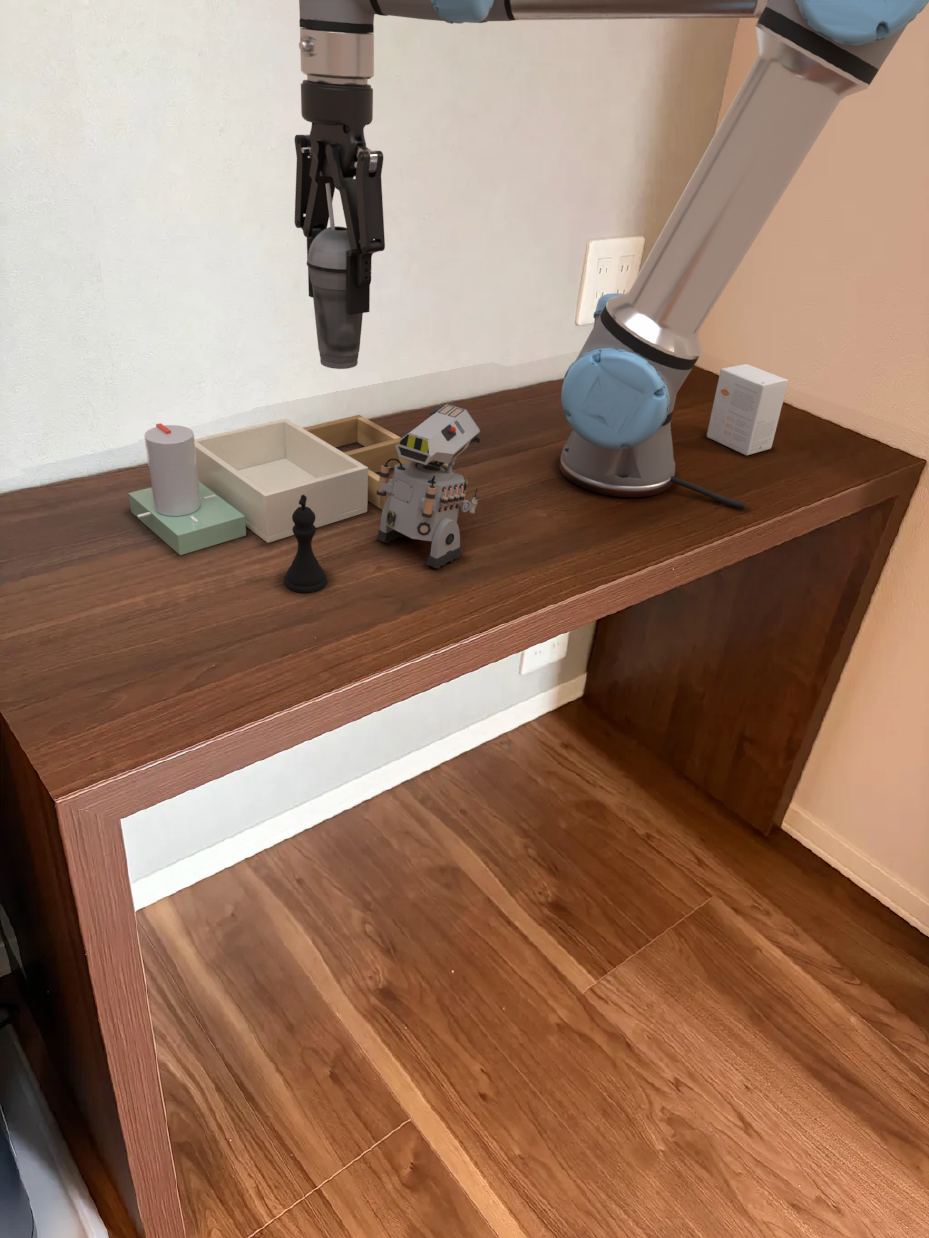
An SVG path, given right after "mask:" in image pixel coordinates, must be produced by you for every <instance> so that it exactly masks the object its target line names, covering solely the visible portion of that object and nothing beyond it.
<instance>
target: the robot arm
mask: <svg viewBox="0 0 929 1238" xmlns="http://www.w3.org/2000/svg"><path fill="white" fill-rule="evenodd" d="M928 4H929V0H298V6H299V19H298V20H299V21H298V22H299V23H298V25H299V43H298V48H299V50H300V51H299V52H300V71H301V73H302V74H304V75H306V79H303V80H302V82H301V83H300V110H301V111H300V112H301V113H300V114H301V117H302V119H303V120H304V121H306V122H309V123H311V127H310V131H309V134H295V136H294V147H295V155H296V165H295V167H296V169H295V196H294V197H295V198H294V226H295V228H297V229H301V230H302V233H303V236H304V237H305V238H306V254H307V255H306V261H307V260H308V253H309V248H310V246H311V243H312V241H313V240H314V238H315V237H316V236H317V235H318V234H319V233H320V232H321V231H322V230H324V229H326V228H328V225H329V221H330V219H329V210H328V201H327V192H326V183H330V189H331V198H332V202H333V201H334V197H335V196H334V195H335V192H336V191H335V190H337V191H339V197H340V200H341V206H342V211H343V216H344V222H345V226H346V227H345V228H347V232H348V237H349V242H350V247H351V250H348V251H346V313H347V314H349V315H353V314H359V313H363V314H364V313H365V314H366V313H370V305H371V304H370V302H371V301H370V299H371V298H370V296H371V295H370V292H371V291H370V290H371V283H372V257H373V255H374V254H376V253H378V252H383V251H385V248H386V239H385V223H384V222H385V221H384V203H383V186H382V174H383V173H382V172H383V165H384V153H383V152H382V151H381V150H372V149H370V148H369V147H367V142H366V138H365V133H364V132H365V130H364V129H365V127H366V126H368V125H370V124H371V123H372V122H373V120H374V88H372V84H368V81H369V80H371V79H372V78H374V76H375V52H374V51H375V35H374V33H375V25H374V22H375V15H377V16H383V17H389V16H392V17H398V18H399V17H400V18H406V19H407V18H409V19H416V20H425V21H426V20H427V21H437V22H438V21H439V22H445V23H447V24H452V25H453V24H459V25H460V24H464V23H468V24H484V23H488V22H512V21H585V20H586V21H588V20H590V21H591V20H592V21H594V20H595V21H596V20H671V19H672V20H676V19H677V20H679V19H682V20H683V19H684V20H685V19H755V20H757V22H756V24H755V33H756V39H757V46H758V54H757V56H756V58H755V60H754V62H753V64H752V66H751V68H750V69H749V71H748V73H747V75H746V77H745V78H744V80H743V82H742V84H741V85H740V88H739V89H738V91H737V93H736V95H735V96H734V99H733V100H732V102H731V104H730V106H729V108H728V109H727V111H726V113H725V115H724V117H723V118H722V121H721V122H720V124H719V126H718V128H717V130H716V132H715V133H714V135H713V137H712V139H711V141H710V143H709V145H708V146H707V148H706V150H705V152H704V153H703V155H702V157H701V159H700V160H699V162H698V164H697V166H696V168H695V170H694V172H693V173H692V176H691V178H690V179H689V181H688V183H687V184H686V186H685V188H684V190H683V192H682V194H681V195H680V197H679V199H678V200H677V202H676V205H675V206H674V208H673V210H672V212H671V214H670V216H669V217H668V219H667V220H666V223H665V225H664V226H663V228H662V230H661V232H660V234H659V236H658V237H657V239H656V241H655V243H654V245H653V247H652V249H651V250H650V251H649V254H648V256H647V258H646V260H644V262H643V265H642V266H641V269H639V272H638V274H637V276H636V278H635V279H634V281H633V283H632V285H631V287H630V289H629V291H627V292H626V293H619V292H615V293H612V292H611V293H606V294H603V295H601V296H600V297H599V298H598V300H597V303H596V306H595V307H596V308H595V311H594V312H593V315H592V317H593V320H594V322H593V327H592V329H591V331H590V333H589V335H588V337H587V339H586V341H584V344H583V346H582V348H581V350H580V351H579V353H578V355H577V357H576V359H575V360H574V361H573V362H572V363H570V365H568V368H567V369H566V371H565V374H564V376H563V380H562V387H561V395H560V396H561V397H560V398H561V399H560V400H561V407H562V411H563V413H564V416H565V418H566V421H567V423H568V425H569V426H570V427H571V428H572V429H571V432H570V434H569V436H568V438H567V440H566V442H565V444H564V446H563V448H562V451H561V454H560V460H559V470H560V472H561V474H562V475H563V477H564V478H566V480H568V481H569V482H571V483H572V484H574V485H576V486H578V487H580V488H581V489H585V490H587V491H591V492H593V493H597V494H601V495H605V496H611V497H619V498H644V497H651V496H652V497H653V496H656V495H659V494H662V493H665V492H666V491H668V489H670V488H671V487H672V484H675V485H678V486H680V487H684V488H686V489H689V490H690V491H691V490H692V491H694V492H695V493H699V494H701V495H704V496H706V497H708V498H709V499H713V500H715V501H717V502H719V503H723V504H726V505H729V506H732V507H735V508H739V509H744V510H745V508H746V504H747V503H746V502H744V501H740V500H736V499H733V498H730V497H726V496H723V495H721V494H720V493H716V492H714V491H711V490H710V489H707V488H704V487H702V486H700V485H697V484H695V483H692V482H689V481H687V480H685V479H681V478H679V477H676V476H675V475H676V462H675V457H674V447H673V446H674V445H673V437H672V428H671V425H672V424H671V423H672V417H673V415H674V410H675V409H674V408H675V404H676V399H677V395H678V393H679V391H680V389H681V387H682V386H683V384H684V382H685V381H686V379H687V378H688V376H689V374H690V373H691V371H692V370H693V368H694V367H695V365H696V363H697V362H698V360H699V358H700V357H701V355H702V354H703V349H702V344H701V341H700V340H701V339H700V336H699V333H700V330H701V329H702V327H703V325H704V323H705V322H706V320H707V319H708V317H709V315H710V314H711V312H712V311H713V309H714V307H715V306H716V304H717V302H718V301H719V299H720V298H721V296H722V294H723V293H724V291H725V290H726V289H727V286H728V285H729V283H730V281H731V279H732V278H733V277H734V274H735V273H736V271H737V270H738V269H739V267H740V265H741V263H742V262H743V260H744V258H745V257H746V255H747V254H748V252H749V250H750V249H751V247H752V245H753V243H754V242H755V241H756V238H757V237H758V236H759V234H760V232H761V231H762V229H763V227H764V225H765V224H766V222H767V221H768V219H769V218H770V216H771V214H772V213H773V211H774V209H775V208H776V206H777V205H778V203H779V201H780V199H781V198H782V196H783V195H784V193H785V191H786V190H787V188H788V186H789V185H790V183H791V182H792V180H793V178H794V177H795V175H796V174H797V172H798V170H799V168H800V167H801V166H802V164H803V162H804V160H805V159H806V157H807V155H809V152H810V151H811V149H812V148H813V146H814V144H815V142H816V141H817V140H818V138H819V136H820V135H821V133H822V131H823V129H824V128H825V126H826V124H827V123H828V122H829V119H830V118H831V116H832V115H833V113H834V112H835V110H836V109H837V107H838V105H839V104H840V102H841V101H842V100H843V99H845V98H847V97H848V96H851V95H854V94H857V93H859V92H863V91H866V90H868V88H869V86H870V85H871V84H872V82H873V81H874V79H875V77H876V76H877V75H878V73H879V71H880V69H881V68H882V66H883V65H884V63H885V61H886V59H887V58H888V57H889V55H890V54H891V53H892V50H893V49H894V47H895V45H896V44H897V42H898V41H899V39H900V37H901V36H902V35H903V33H904V31H905V30H906V28H907V26H908V25H909V24H910V23H911V22H912V21H914V20H915V19H916V17H917V16H918V15H919V14H920V13H922V12H923V10H924V9H925V8H926V6H927V5H928ZM359 240H360V243H359ZM307 279H308V280H307V282H308V284H307V285H308V297H309V298H312V299H313V290H312V283H311V281H310V276H309V271H308V270H307Z"/></svg>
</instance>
